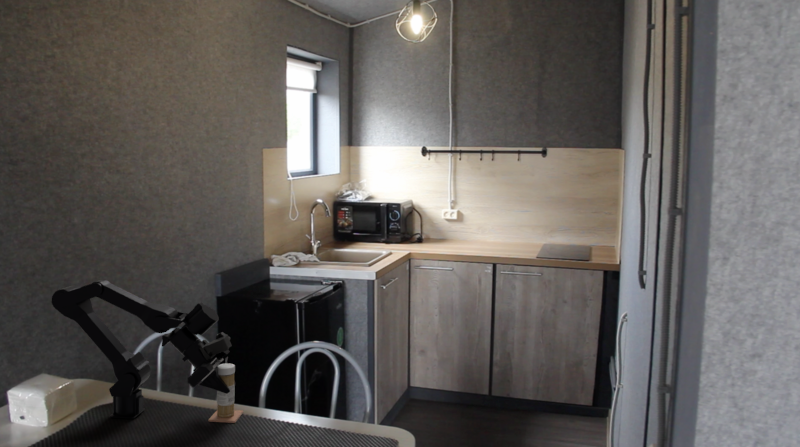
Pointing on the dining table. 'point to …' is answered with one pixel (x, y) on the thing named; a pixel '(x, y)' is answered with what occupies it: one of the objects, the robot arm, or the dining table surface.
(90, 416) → the dining table surface
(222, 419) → the tile
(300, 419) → the dining table surface
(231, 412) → the sprinkles bottle
